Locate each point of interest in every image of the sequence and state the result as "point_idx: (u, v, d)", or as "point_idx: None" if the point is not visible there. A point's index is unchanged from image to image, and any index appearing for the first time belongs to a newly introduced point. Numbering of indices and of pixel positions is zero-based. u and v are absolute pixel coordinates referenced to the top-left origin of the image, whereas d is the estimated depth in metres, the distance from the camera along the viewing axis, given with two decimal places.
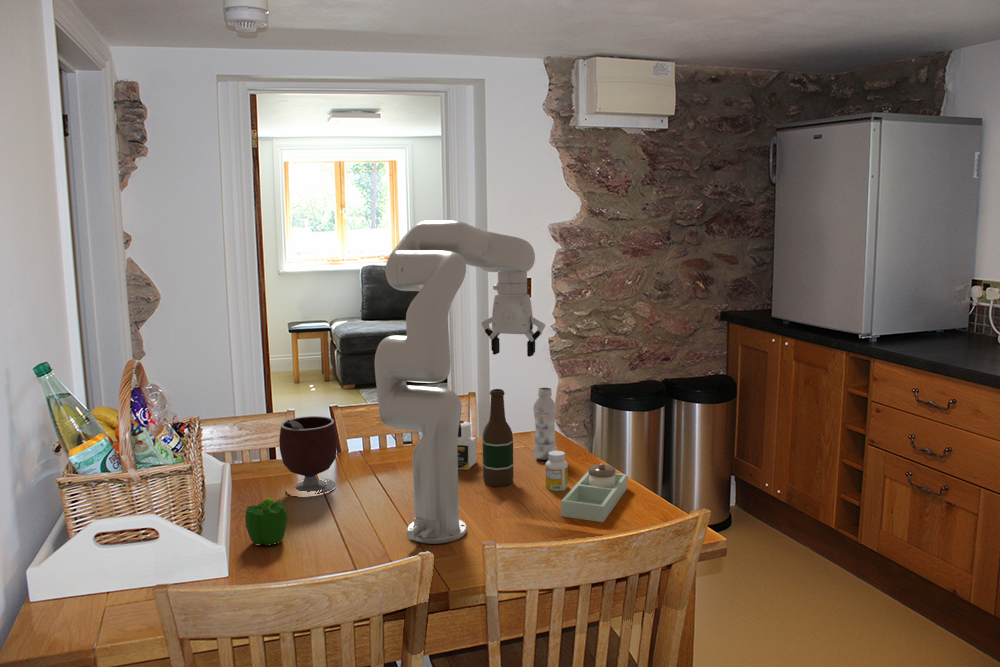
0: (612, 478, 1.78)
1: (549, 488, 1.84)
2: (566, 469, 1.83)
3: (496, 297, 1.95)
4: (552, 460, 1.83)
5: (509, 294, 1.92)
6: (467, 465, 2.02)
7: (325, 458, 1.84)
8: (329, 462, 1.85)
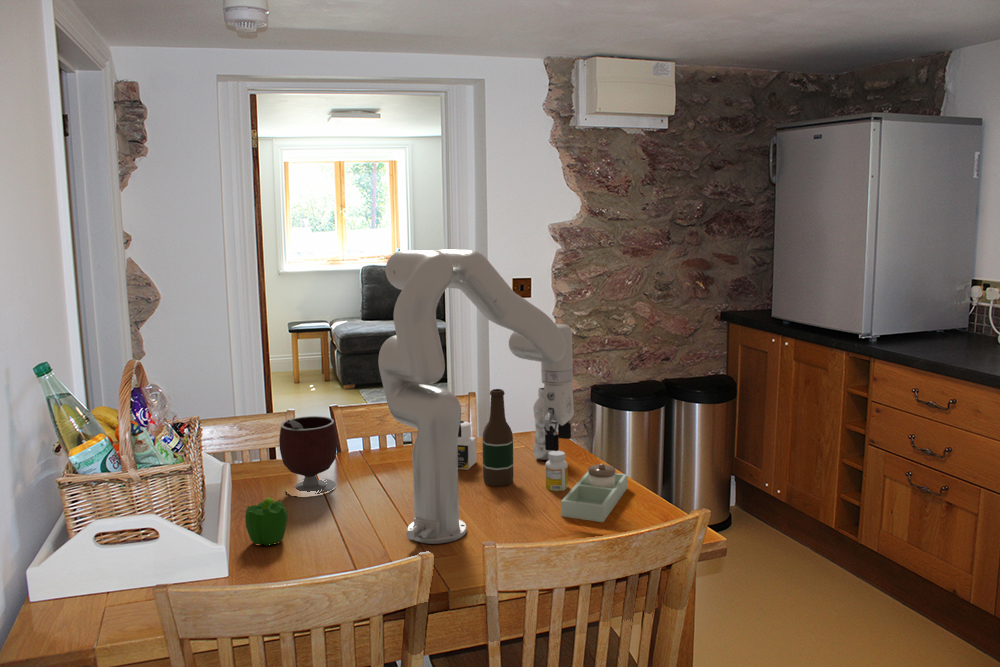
0: (612, 478, 1.78)
1: (549, 488, 1.84)
2: (566, 469, 1.83)
3: (562, 387, 1.78)
4: (552, 460, 1.83)
5: (572, 379, 1.81)
6: (467, 465, 2.02)
7: (325, 458, 1.84)
8: (329, 462, 1.85)
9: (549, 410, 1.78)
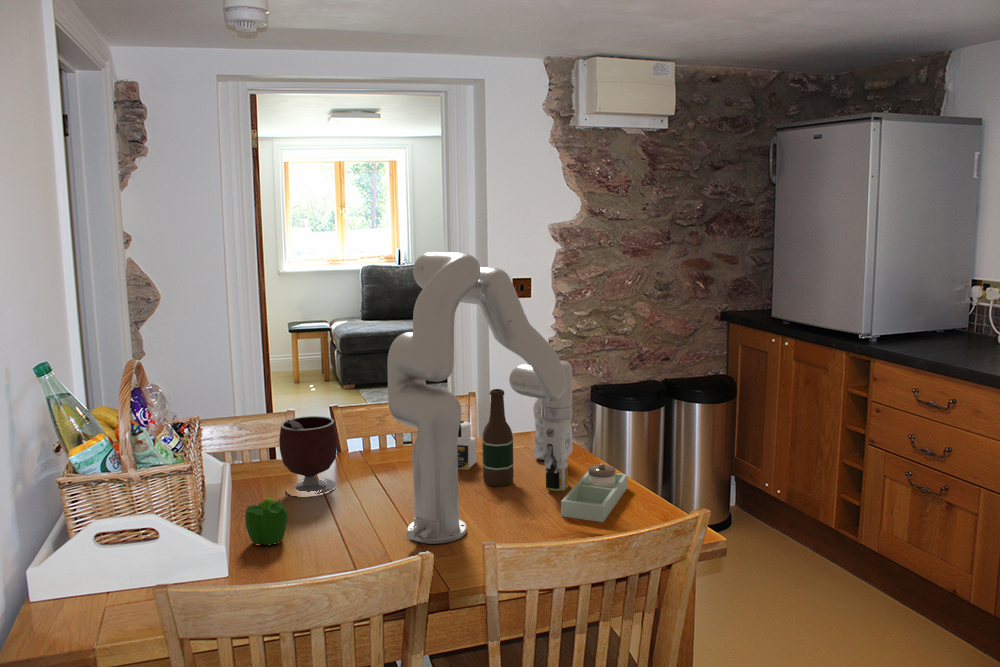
0: (612, 478, 1.78)
1: (549, 488, 1.84)
2: (566, 469, 1.83)
3: (561, 424, 1.79)
4: None
5: (571, 416, 1.82)
6: (467, 465, 2.02)
7: (325, 458, 1.84)
8: (329, 462, 1.85)
9: (548, 449, 1.79)
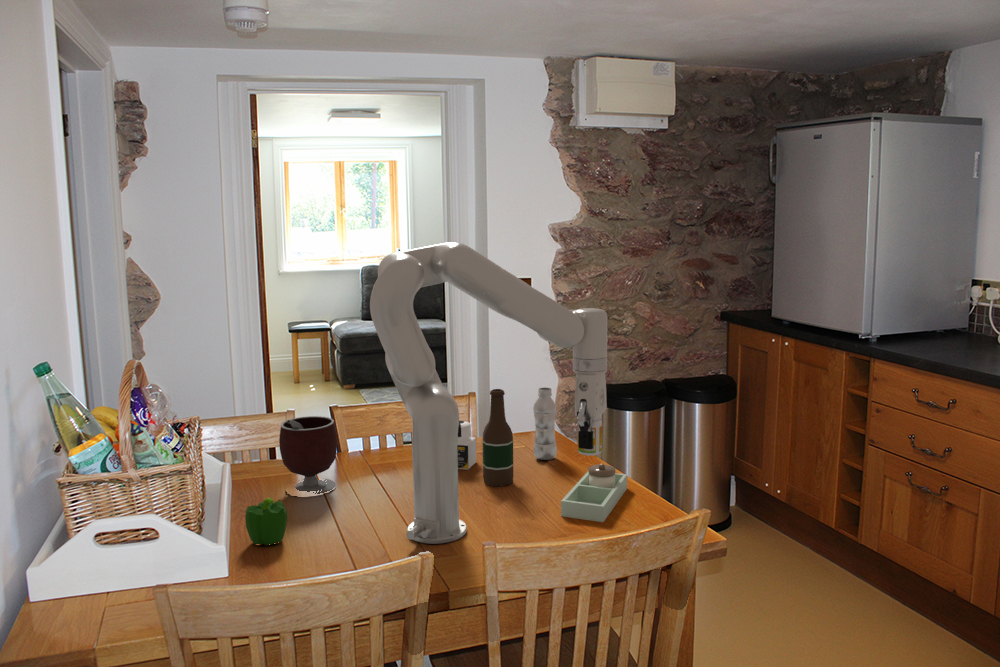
0: (612, 478, 1.78)
1: (582, 449, 1.67)
2: (600, 428, 1.67)
3: (595, 376, 1.62)
4: None
5: (606, 369, 1.65)
6: (467, 465, 2.02)
7: (325, 458, 1.84)
8: (329, 462, 1.85)
9: (582, 405, 1.62)
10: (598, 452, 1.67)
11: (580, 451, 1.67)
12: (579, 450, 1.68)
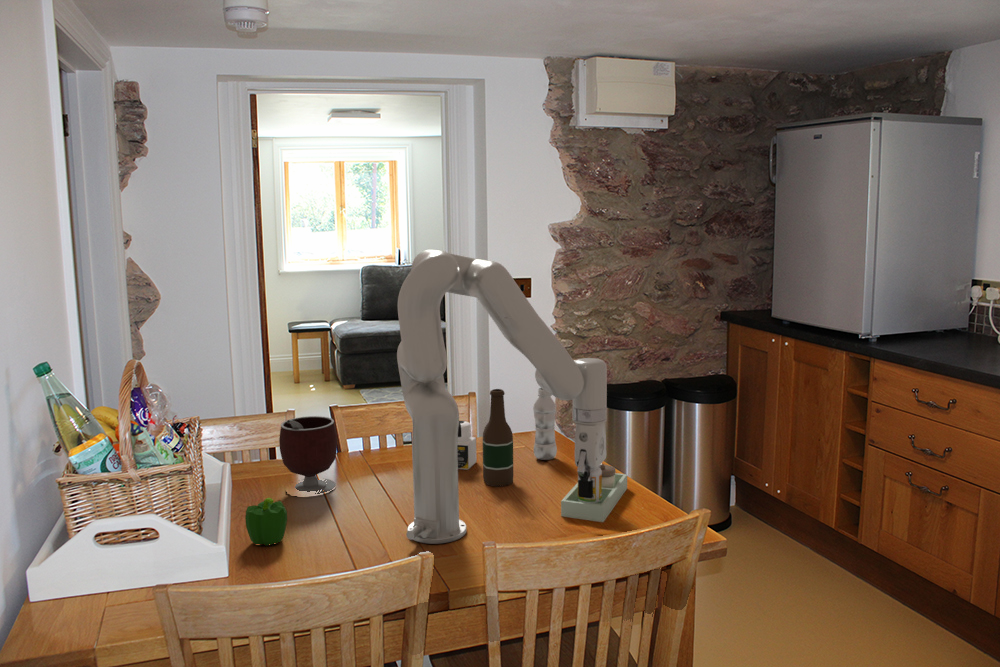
0: (612, 478, 1.78)
1: (582, 497, 1.68)
2: (600, 476, 1.68)
3: (595, 427, 1.64)
4: None
5: (606, 418, 1.67)
6: (467, 465, 2.02)
7: (325, 458, 1.84)
8: (329, 462, 1.85)
9: (581, 455, 1.64)
10: (598, 500, 1.68)
11: (580, 499, 1.69)
12: (579, 498, 1.69)
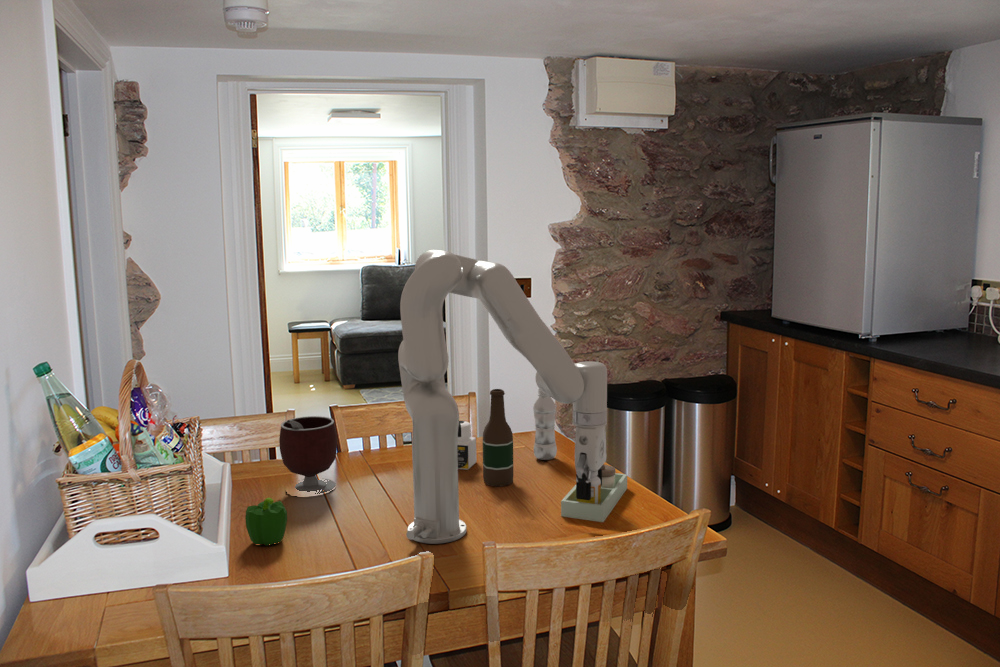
0: (612, 478, 1.78)
1: None
2: (599, 486, 1.68)
3: (595, 430, 1.64)
4: None
5: (606, 422, 1.67)
6: (467, 465, 2.02)
7: (325, 458, 1.84)
8: (329, 462, 1.85)
9: (581, 456, 1.64)
10: None
11: None
12: None
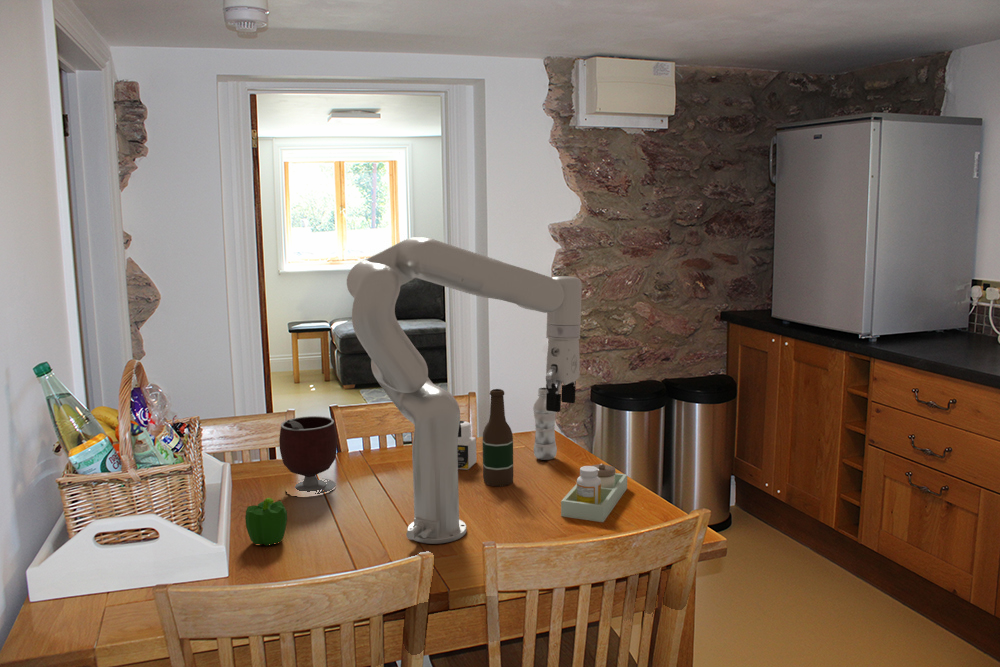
0: (612, 478, 1.78)
1: None
2: (599, 486, 1.68)
3: (567, 342, 1.65)
4: (584, 476, 1.68)
5: (579, 336, 1.68)
6: (467, 465, 2.02)
7: (325, 458, 1.84)
8: (329, 462, 1.85)
9: (552, 367, 1.65)
10: None
11: None
12: None
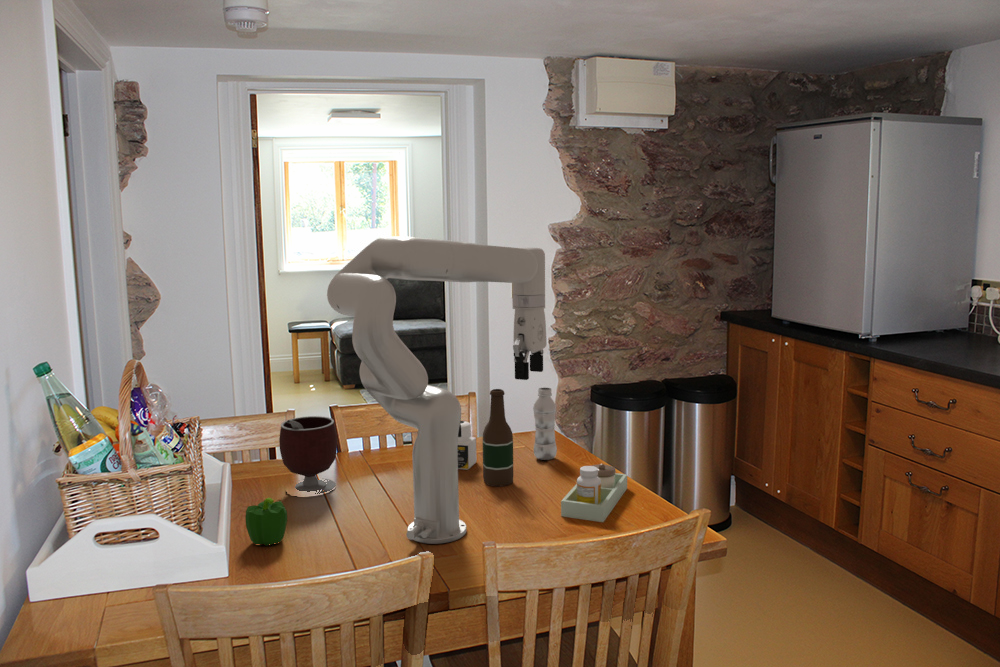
0: (612, 478, 1.78)
1: None
2: (599, 486, 1.68)
3: (533, 312, 1.69)
4: (584, 476, 1.68)
5: (544, 306, 1.72)
6: (467, 465, 2.02)
7: (325, 458, 1.84)
8: (329, 462, 1.85)
9: (519, 336, 1.69)
10: None
11: None
12: None
